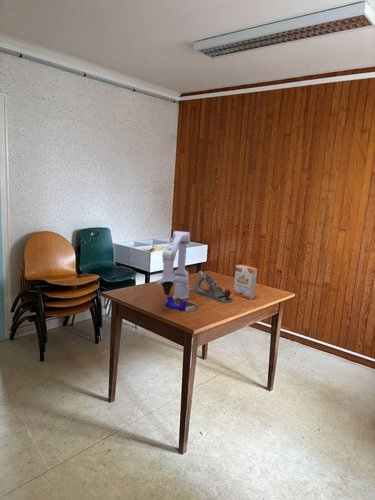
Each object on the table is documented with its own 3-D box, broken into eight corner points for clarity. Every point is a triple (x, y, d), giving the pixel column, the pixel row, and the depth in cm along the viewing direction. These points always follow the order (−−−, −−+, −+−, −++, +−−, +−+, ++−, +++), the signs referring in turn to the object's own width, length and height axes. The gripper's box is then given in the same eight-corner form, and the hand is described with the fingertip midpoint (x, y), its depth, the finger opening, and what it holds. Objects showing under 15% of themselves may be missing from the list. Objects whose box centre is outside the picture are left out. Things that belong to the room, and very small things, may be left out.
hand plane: (225, 304, 232) (227, 281, 230) (189, 291, 256) (191, 270, 254) (234, 302, 239) (236, 279, 236) (198, 289, 262) (200, 269, 260)
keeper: (176, 301, 230) (177, 297, 229) (197, 309, 218) (198, 304, 217) (166, 304, 223) (166, 299, 223) (186, 312, 211) (187, 307, 211)
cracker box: (232, 294, 254) (235, 265, 250) (238, 293, 258) (240, 264, 255) (249, 299, 244) (252, 269, 241) (254, 298, 248) (257, 268, 245)
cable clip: (165, 306, 219) (165, 297, 218) (170, 305, 222) (170, 295, 221) (180, 312, 211) (180, 302, 210) (185, 310, 215) (186, 300, 214)
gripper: (163, 274, 199) (162, 298, 202) (182, 271, 210) (180, 294, 212) (154, 271, 204) (153, 295, 206) (173, 268, 215) (172, 291, 217)
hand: (166, 294), depth 210 cm, fingers closed
